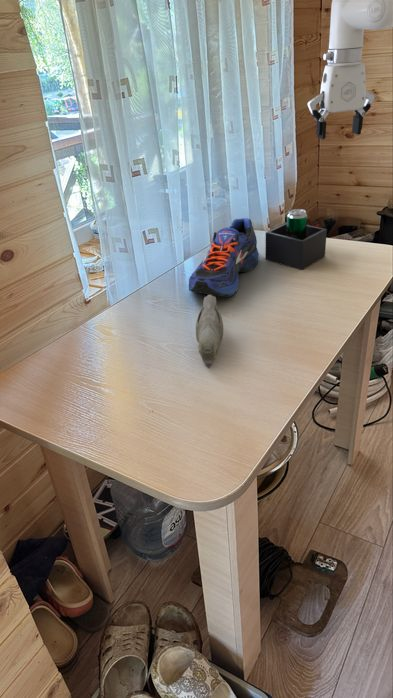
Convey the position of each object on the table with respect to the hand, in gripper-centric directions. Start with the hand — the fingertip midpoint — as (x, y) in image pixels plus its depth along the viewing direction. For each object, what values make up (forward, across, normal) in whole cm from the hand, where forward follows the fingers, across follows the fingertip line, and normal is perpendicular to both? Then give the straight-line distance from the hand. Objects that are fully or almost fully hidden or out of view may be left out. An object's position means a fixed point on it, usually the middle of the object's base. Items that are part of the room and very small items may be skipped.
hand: (338, 135), depth 128 cm
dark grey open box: (+28, -13, -5) cm, 32 cm away
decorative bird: (+28, -47, -39) cm, 67 cm away
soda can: (+28, -13, -5) cm, 31 cm away
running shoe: (+28, -35, -10) cm, 46 cm away
